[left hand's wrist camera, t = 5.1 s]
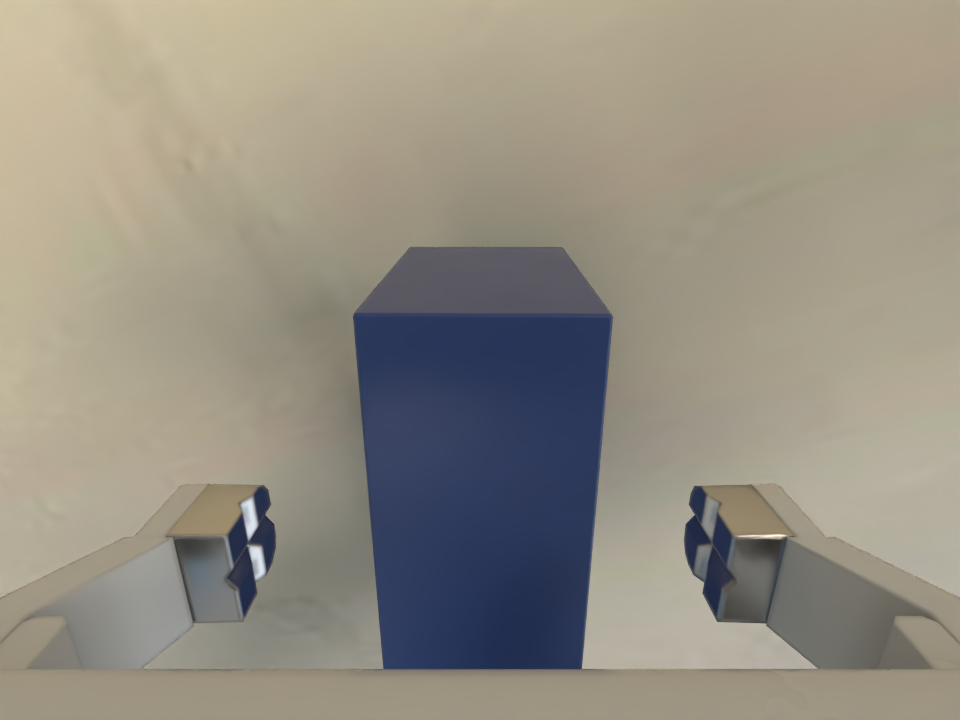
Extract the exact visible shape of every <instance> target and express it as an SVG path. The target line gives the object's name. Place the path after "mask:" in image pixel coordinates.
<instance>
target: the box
mask: <svg viewBox="0 0 960 720" xmlns="http://www.w3.org/2000/svg"><path fill="white" fill-rule="evenodd" d="M612 321H613V317H612V314H611V313H610V311H609V310H608V309H607V307H606V306H605V305H604V303H603V302H602V301H601V299H600V298H599V296H598V295H597V294H596V292H595V291H594V290H593V288H592V287H591V286H590V284H589V283H588V281H587V280H586V279H585V277H584V276H583V275H582V273H581V272H580V271H579V269H578V268H577V266H576V265H575V264H574V262H573V261H572V260H571V258H570V257H569V256H568V254H567V253H566V251H565V250H564V249H563V248H562V247H410V248H409V249H408V250H407V251H406V252H405V254H404V255H403V256H402V257H401V258H400V259H399V261H398V262H397V263H396V264H395V265H394V267H393V268H392V269H391V270H390V271H389V272H388V274H387V275H386V276H385V277H384V278H383V280H382V281H381V282H380V283H379V284H378V286H377V287H376V288H375V289H374V290H373V291H372V293H371V294H370V295H369V296H368V297H367V299H366V300H365V301H364V302H363V303H362V305H361V306H360V307H359V308H358V309H357V310H356V312H355V313H354V315H353V322H354V334H355V345H356V357H357V368H358V380H359V392H360V403H361V415H362V426H363V438H364V450H365V461H366V473H367V484H368V496H369V507H370V519H371V531H372V542H373V554H374V565H375V577H376V589H377V600H378V612H379V623H380V635H381V647H382V658H383V669H582V661H583V649H584V638H585V627H586V615H587V604H588V593H589V581H590V570H591V559H592V547H593V536H594V525H595V513H596V502H597V491H598V479H599V468H600V457H601V445H602V434H603V423H604V411H605V400H606V389H607V377H608V366H609V355H610V343H611V332H612Z"/></svg>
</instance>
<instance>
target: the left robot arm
mask: <svg viewBox="0 0 960 720" xmlns="http://www.w3.org/2000/svg"><path fill="white" fill-rule="evenodd" d="M270 505H271V502H270V497H269V492H268V489H267V488H266V487H265V486H264V485H230V484H212V485H211V484H186V485H182V486H180V487H179V488H178V489H177V490H176V491H175V492H174V493H173V494H172V495H171V497H170V498H169V499H168V500H167V501H166V502H165V503H164V504H163V505H162V506H161V508H160V509H159V510H158V511H157V512H156V513H155V514H154V515H153V516H152V517H151V519H150V520H149V521H148V522H147V523H146V524H145V525H144V526H143V527H142V528H141V530H140V531H139V532H138V533H137V534H136V535H135V536H134V537H124V538H122V539H120V540H118V541H116V542H114V543H112V544H110V545H108V546H106V547H104V548H102V549H100V550H98V551H96V552H94V553H91V554H89V555H87V556H85V557H83V558H81V559H79V560H77V561H75V562H73V563H71V564H69V565H67V566H65V567H63V568H61V569H59V570H56V571H54V572H52V573H50V574H48V575H46V576H44V577H42V578H40V579H38V580H36V581H34V582H32V583H30V584H28V585H26V586H24V587H21V588H19V589H17V590H15V591H13V592H11V593H9V594H7V595H5V596H3V597H1V598H0V720H960V598H959V597H957V596H955V595H953V594H951V593H948V592H946V591H944V590H942V589H940V588H938V587H936V586H934V585H932V584H930V583H928V582H926V581H924V580H922V579H920V578H918V577H916V576H914V575H912V574H909V573H907V572H905V571H903V570H901V569H899V568H897V567H895V566H893V565H891V564H889V563H887V562H885V561H883V560H881V559H879V558H877V557H875V556H873V555H870V554H868V553H866V552H864V551H862V550H860V549H858V548H856V547H854V546H852V545H850V544H848V543H846V542H844V541H842V540H840V539H838V538H836V537H826V536H825V535H824V534H823V533H822V532H821V531H820V530H819V529H818V527H817V526H816V525H815V524H814V523H813V522H812V521H811V520H810V519H809V517H808V516H807V515H806V514H805V513H804V512H803V511H802V510H801V509H800V508H799V506H798V505H797V504H796V503H795V502H794V501H793V500H792V499H791V498H790V497H789V495H788V494H787V493H786V492H785V491H784V490H783V489H782V488H781V487H780V486H778V485H776V484H749V485H719V486H694V488H693V490H692V492H691V496H690V502H689V505H690V507H691V509H692V511H693V512H694V514H695V515H694V516H693V517H692V518H691V519H690V521H689V522H688V523H687V524H686V527H685V535H684V545H685V554H686V558H687V561H688V565H689V567H690V569H691V571H692V573H693V575H694V576H696V577H697V578H699V579H700V580H701V581H703V582H704V587H703V595H704V597H705V599H706V601H707V603H708V605H709V607H710V609H711V610H712V612H713V614H714V616H715V618H716V620H717V622H739V623H767V624H766V626H767V627H769V628H770V629H771V630H772V631H773V632H775V633H776V634H777V635H778V636H779V637H781V638H782V639H783V640H784V641H786V642H787V643H788V644H789V645H790V646H792V647H793V648H794V649H795V650H796V651H798V652H799V653H800V654H801V655H802V656H804V657H805V658H806V659H807V660H809V661H810V662H811V663H812V664H813V665H815V666H816V667H817V668H818V669H142V668H143V667H144V666H146V665H147V664H148V663H149V662H150V661H152V660H153V659H154V658H155V657H157V656H158V655H159V654H160V653H161V652H163V651H164V650H165V649H166V648H167V647H169V646H170V645H171V644H172V643H173V642H175V641H176V640H177V639H178V638H180V637H181V636H182V635H183V634H184V633H186V632H187V631H188V630H189V629H190V628H192V627H193V626H194V624H193V623H220V622H243V620H244V618H245V616H246V614H247V612H248V611H249V609H250V607H251V605H252V603H253V601H254V599H255V597H256V595H257V588H256V582H257V581H259V580H260V579H261V578H263V577H264V576H266V575H267V573H268V571H269V569H270V567H271V565H272V562H273V557H274V553H275V548H276V534H275V527H274V524H273V523H272V522H271V521H270V519H269V518H268V517H267V516H266V515H265V514H266V512H267V511H268V509H269V507H270Z"/></svg>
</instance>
